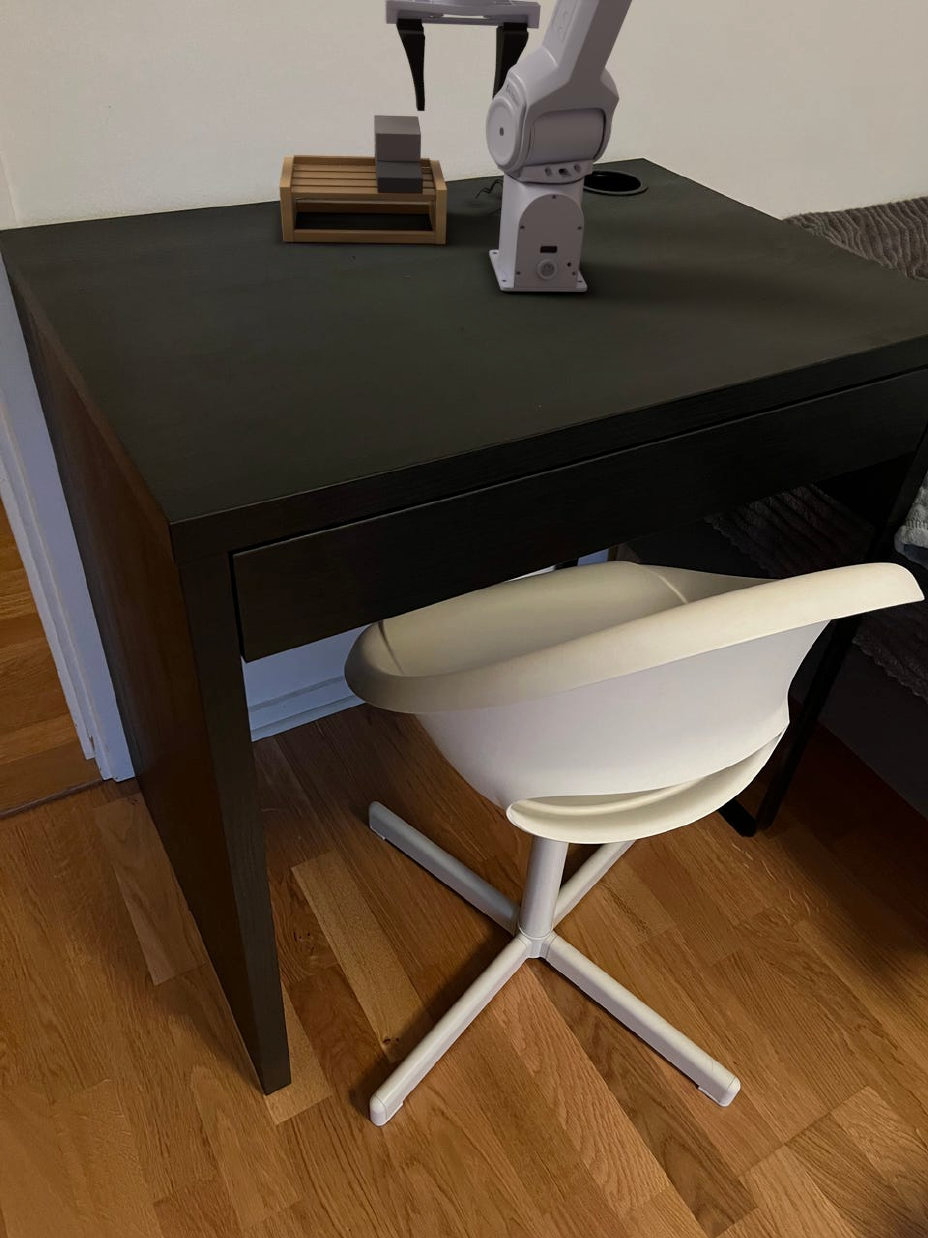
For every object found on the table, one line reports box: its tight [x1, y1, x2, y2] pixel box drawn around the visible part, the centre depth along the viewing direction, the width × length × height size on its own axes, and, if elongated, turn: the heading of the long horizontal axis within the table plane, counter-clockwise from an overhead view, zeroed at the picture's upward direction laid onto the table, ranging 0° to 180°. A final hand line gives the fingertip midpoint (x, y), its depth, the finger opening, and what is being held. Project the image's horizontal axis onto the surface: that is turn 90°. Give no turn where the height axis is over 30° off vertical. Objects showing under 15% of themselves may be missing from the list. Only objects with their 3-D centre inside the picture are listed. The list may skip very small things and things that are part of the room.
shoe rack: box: [278, 154, 448, 245], centre depth 96 cm, size 10×16×5 cm, turn 96°
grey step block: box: [373, 114, 423, 193], centre depth 93 cm, size 9×4×4 cm, turn 6°
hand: (458, 109), depth 94 cm, fingers open, 7 cm apart
